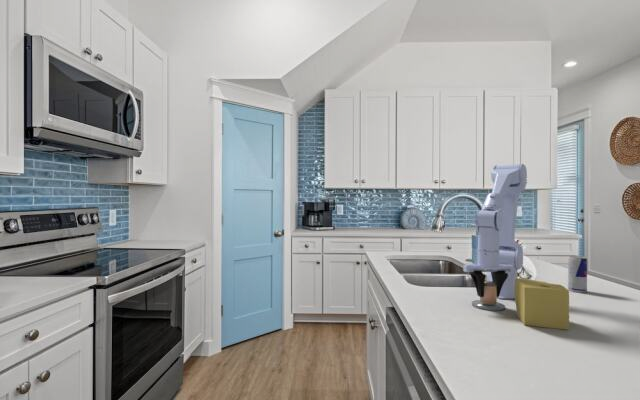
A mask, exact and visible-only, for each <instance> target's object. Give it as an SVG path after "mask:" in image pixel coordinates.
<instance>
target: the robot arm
mask: <svg viewBox="0 0 640 400" xmlns="http://www.w3.org/2000/svg"><path fill="white" fill-rule="evenodd" d="M491 168H492V169H491V173H490V177H491V181H492V183H493V187H492V190H491V192H490V193H488V194H487V195H486V197H485V200H484V203H483V205H482V207H481V209H480V210H479V211H477V212H476V214H475V216H474V217H475V218H474V223H475V224H474V226H475V227H476V228H475V230H476V231H475V233H476V235H477V263H473V264H463V266H462V268H463V270H462V271H463V272H465V273H469V275H470V277H471V279H472V281H473V283H474V286H475V290H476V295H477V296H478V297H483V296H484V281H493V282H496V285H497V299H499V300H500V299H515V294H514V288H515V279H518V270H521V268H522V267H523V264H524V253H523V252H524V248H523V246H522V245H521V244H520V243H519V242H518V241H516V240H515V233H516V223H517V213H518V212H517V211H518V206H519V205H518V203H519V198H520V194H521V193H522V192H524V191H526V186H527V177H528V172H527V167H526V165H525V164H524V163H521V164H506V165H505V164H504V165H501V164H500V165H495V164H494V165H493V167H491ZM485 272H486V274H484V273H485Z"/></svg>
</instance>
